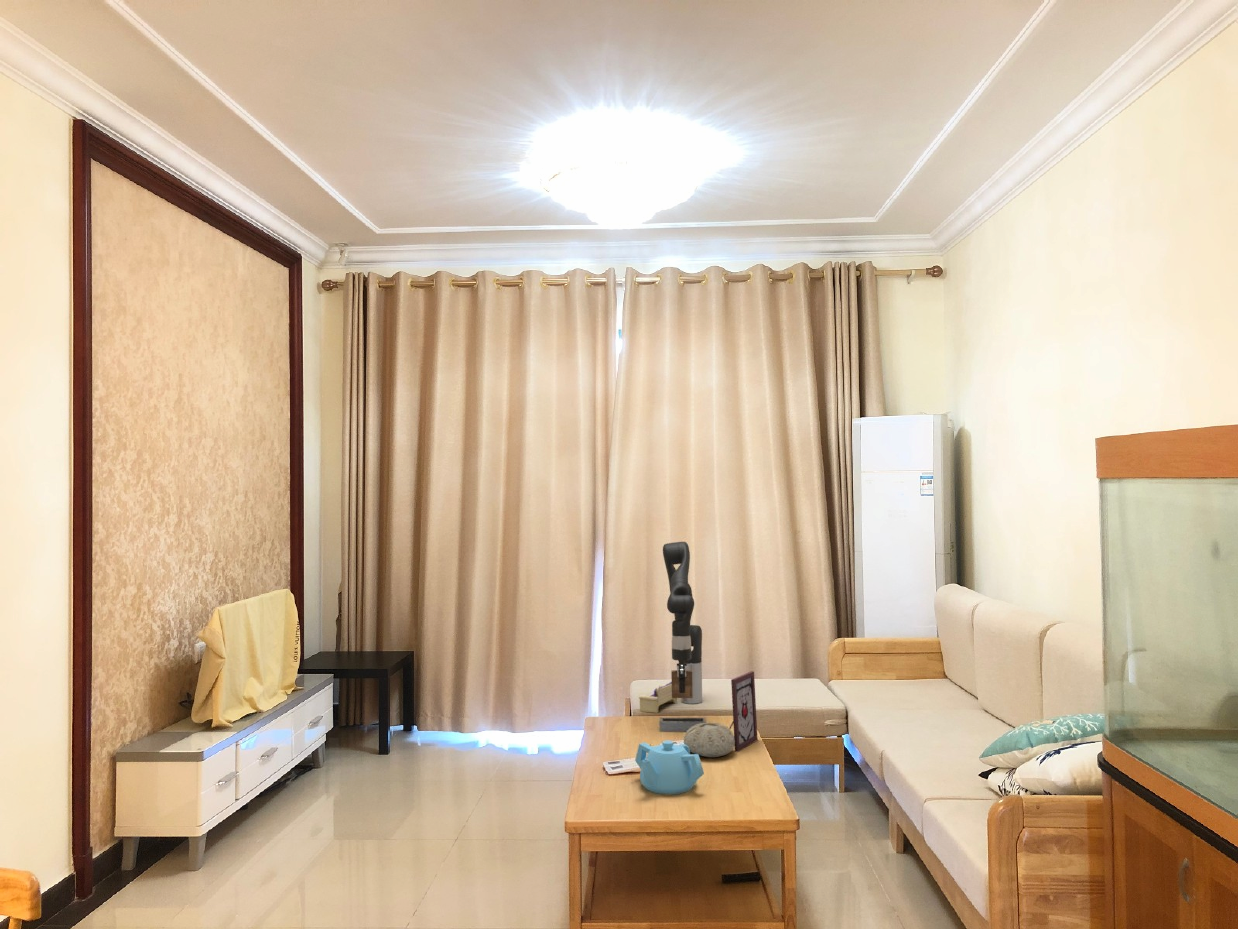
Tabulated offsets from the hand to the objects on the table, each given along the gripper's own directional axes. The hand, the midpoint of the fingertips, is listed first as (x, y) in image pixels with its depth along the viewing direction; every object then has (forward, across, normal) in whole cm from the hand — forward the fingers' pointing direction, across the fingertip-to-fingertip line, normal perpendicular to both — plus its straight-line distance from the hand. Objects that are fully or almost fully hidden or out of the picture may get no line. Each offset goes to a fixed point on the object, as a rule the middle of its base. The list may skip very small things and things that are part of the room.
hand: (682, 691), depth 327 cm
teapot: (+15, +65, -5) cm, 67 cm away
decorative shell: (+15, +31, +9) cm, 36 cm away
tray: (+14, 0, 0) cm, 14 cm away
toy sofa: (+15, -34, -10) cm, 39 cm away
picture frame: (+15, +19, +19) cm, 31 cm away
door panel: (+2, 0, 0) cm, 2 cm away
